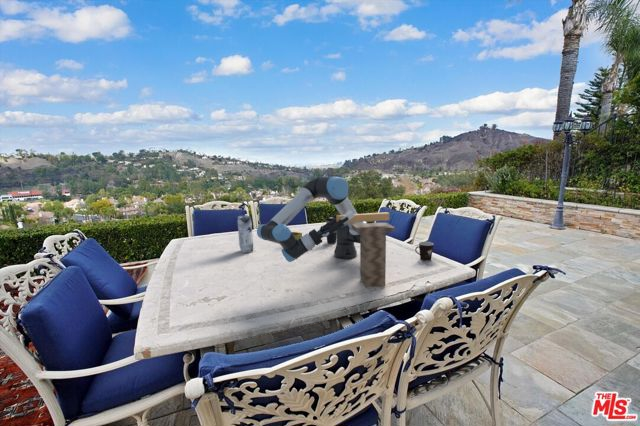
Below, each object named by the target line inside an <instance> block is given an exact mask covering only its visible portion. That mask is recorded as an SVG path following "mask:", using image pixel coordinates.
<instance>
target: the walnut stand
mask: <svg viewBox="0 0 640 426" xmlns="http://www.w3.org/2000/svg"><path fill="white" fill-rule="evenodd" d="M352 228H353V229H354V230H355V231H356V232H357V233H358V234H360V243H359V245H360V246H359V247H360V249H359V252H360V253H359V257H360V258H359V259H360V262H359V264H360V266H359V268H360V275H359V276H360V277H359V279H360V282H361V283H362V284H363V285H364V287H365V288H375V287H385V286H386V273H387V271H386V269H387V267H386V265H387V263H386V262H387V261H386V259H387V256H386V255H387V252H386V251H387V250H386V249H387V248H386V247H387V233H390V232H391V233H392V232H396V231H395V230H396V227H395V226H393V225H391V224H389V222H383V221H382V222H370V223H369V222H368V223H367V222H366V224H352Z"/></svg>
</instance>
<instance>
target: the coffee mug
mask: <svg viewBox="0 0 640 426" xmlns="http://www.w3.org/2000/svg"><path fill="white" fill-rule="evenodd" d="M417 249H419V252H418V251H417ZM414 250H415V253H416V254H418V255H419V258H420V260H422V261H426V260H429V261H431V260H432V256H433V250H434V242H431V241H419V242H418V246H416V247H415V249H414Z"/></svg>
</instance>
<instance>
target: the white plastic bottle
mask: <svg viewBox="0 0 640 426" xmlns="http://www.w3.org/2000/svg"><path fill="white" fill-rule="evenodd" d="M252 223H253V222H252V217H251V216H250V214H249V213H246V214H244V215H237V230H238V231H237V232H238V244H239V249H240V251H241V253H242V254H248V253H253V252H254V239H253V238H254V237H253V236H254V235H253V234H254V233H253V225H252ZM247 252H248V253H247Z"/></svg>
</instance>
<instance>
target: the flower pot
mask: <svg viewBox="0 0 640 426" xmlns="http://www.w3.org/2000/svg"><path fill="white" fill-rule="evenodd" d="M291 232H292V234H293V235H294V237H295V238H296V239H297V240H298V239H299V238H301V237H302V236H303V232H299V231H297V232H296V231H291Z"/></svg>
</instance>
